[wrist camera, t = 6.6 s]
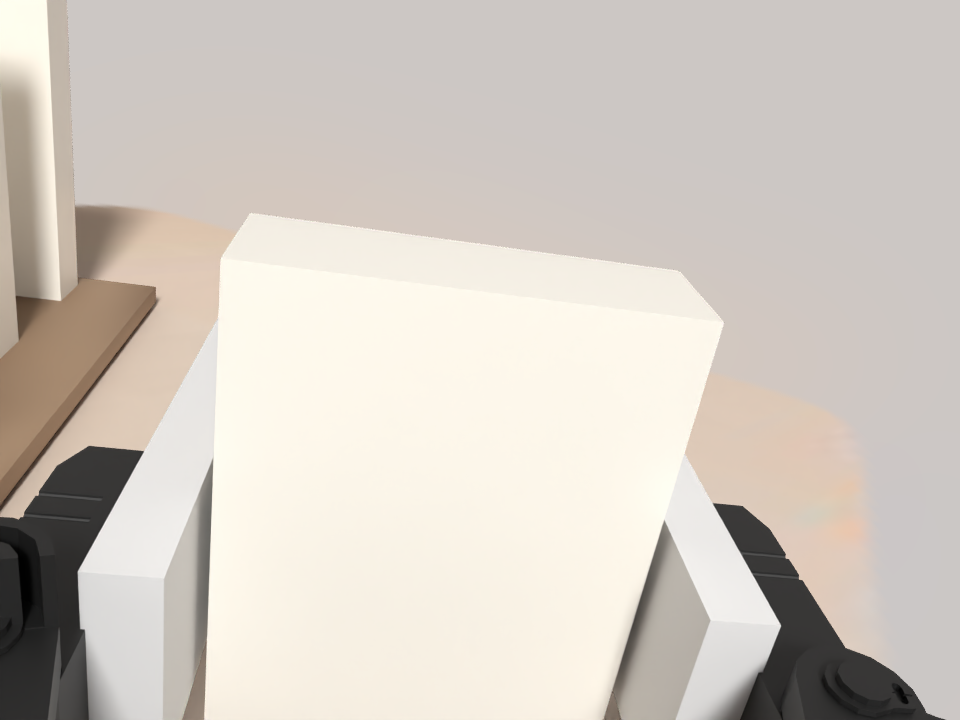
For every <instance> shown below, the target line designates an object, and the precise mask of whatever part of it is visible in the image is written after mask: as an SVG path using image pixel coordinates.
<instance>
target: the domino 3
mask: <svg viewBox="0 0 960 720" xmlns="http://www.w3.org/2000/svg"><path fill="white" fill-rule="evenodd" d="M723 325H724V322H723V321H722V319H721V318H720V317H719V316H718V315H717V314H716V312H715V311H714V310H713V309H712V308H711V307H710V306H709V304H708V303H707V302H706V301H705V300H704V299H703V298H702V297H701V295H700V294H699V293H698V292H697V291H696V290H695V289H694V287H692V285H691V284H690V283H689V282H688V281H687V280H686V278H685V277H684V276H683V275H682V274H681V273H680V271H676V270H669V269H661V268H654V267H647V266H639V265H631V264H624V263H617V262H609V261H602V260H595V259H588V258H580V257H573V256H565V255H558V254H550V253H543V252H536V251H528V250H521V249H514V248H506V247H499V246H491V245H483V244H477V243H468V242H461V241H454V240H446V239H440V238H432V237H424V236H417V235H410V234H402V233H394V232H388V231H380V230H373V229H366V228H358V227H351V226H343V225H335V224H328V223H321V222H313V221H306V220H299V219H291V218H284V217H277V216H269V215H262V214H254V213H250V214H249V216H248V217H247V219H246V220H245V222H244V224H243V225H242V226H241V228H240V229H239V231H238V232H237V234H236V236H235V237H234V239H233V240H232V242H231V243H230V245H229V246H228V248H227V249H226V251H225V252H224V254H223V255H222V257H221V263H220V291H219V320H218V348H217V376H216V404H215V432H214V460H213V488H212V516H211V544H210V572H209V600H208V628H207V657H206V685H205V713H204V720H603V719H604V716H605V712H606V709H607V706H608V702H609V699H610V696H611V693H612V689H613V686H614V683H615V679H616V676H617V673H618V670H619V666H620V663H621V660H622V656H623V653H624V650H625V647H626V643H627V640H628V637H629V633H630V630H631V627H632V624H633V620H634V617H635V614H636V610H637V607H638V604H639V601H640V597H641V594H642V591H643V587H644V584H645V581H646V578H647V574H648V571H649V568H650V564H651V561H652V558H653V555H654V551H655V548H656V545H657V541H658V538H659V535H660V532H661V528H662V525H663V522H664V518H665V515H666V512H667V509H668V505H669V502H670V499H671V495H672V492H673V489H674V486H675V482H676V479H677V476H678V472H679V469H680V466H681V463H682V459H683V456H684V453H685V449H686V446H687V443H688V440H689V436H690V433H691V430H692V426H693V423H694V420H695V417H696V413H697V410H698V407H699V403H700V400H701V397H702V394H703V390H704V387H705V384H706V380H707V377H708V374H709V371H710V367H711V364H712V361H713V357H714V354H715V351H716V347H717V344H718V341H719V337H720V334H721V331H722V328H723Z"/></svg>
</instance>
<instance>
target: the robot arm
mask: <svg viewBox="0 0 960 720" xmlns="http://www.w3.org/2000/svg"><path fill="white" fill-rule="evenodd" d="M218 320H219V317H218V319H217V321H216V322H215V324H214V326H213V328H212V330H211V331H210V333H209V335H208V337H207V339H206V341H205V342H204V344H203V346H202V348H201V350H200V351H199V353H198V355H197V357H196V359H195V360H194V362H193V364H192V366H191V368H190V369H189V371H188V373H187V375H186V377H185V379H184V380H183V382H182V384H181V386H180V388H179V389H178V391H177V393H176V395H175V397H174V398H173V400H172V402H171V404H170V406H169V407H168V409H167V411H166V413H165V415H164V417H163V418H162V420H161V422H160V424H159V426H158V427H157V429H156V431H155V433H154V435H153V436H152V438H151V440H150V442H149V444H148V445H147V447H146V449H145V451H136V450H126V449H116V448H105V447H95V446H88V447H87V448H85V449H84V450H82V451H80V452H79V453H77V454H75V455H74V456H72V457H71V458H69V459H67V460H66V461H64V462H63V463H61V464H59V465H58V466H57V467H56V468H55V470H54V471H53V472H52V474H51V475H50V477H49V478H48V479H47V481H46V482H45V484H44V485H43V486H42V488H41V489H40V491H39V496H35V498H34V499H33V501H32V502H31V503H30V505H29V506H28V508H27V509H26V510H25V512H24V517H20V519H19V520H18V519H15V518H6V517H0V720H182V718H183V715H184V712H185V709H186V705H187V702H188V699H189V696H190V692H191V689H192V686H193V682H194V679H195V676H196V673H197V669H198V666H199V663H200V659H201V656H202V653H203V650H204V646H205V643H206V640H207V628H208V600H209V572H210V544H211V516H212V488H213V460H214V432H215V404H216V376H217V348H218ZM785 555H786V554H785V552H784V551H783V549H782V548H781V546H780V545H779V543H778V541H777V540H776V538H775V537H774V535H773V534H772V532H771V530H770V529H769V528H768V527H767V526H765V525H764V524H763V523H762V522H761V521H759V520H758V519H757V518H756V517H755V516H753V515H752V514H751V513H750V512H749V511H748V510H746V509H745V508H744V507H743V506H736V505H726V504H715V503H712V502H711V500H710V498H709V496H708V495H707V493H706V491H705V489H704V487H703V486H702V484H701V482H700V480H699V479H698V477H697V475H696V473H695V471H694V470H693V468H692V466H691V464H690V462H689V461H688V459H687V457H686V455H685V454H684V456H683V459H682V463H681V466H680V469H679V472H678V476H677V479H676V482H675V486H674V489H673V492H672V495H671V499H670V502H669V505H668V509H667V512H666V515H665V518H664V522H663V525H662V528H661V532H660V535H659V538H658V541H657V545H656V548H655V551H654V555H653V558H652V561H651V564H650V568H649V571H648V574H647V578H646V581H645V584H644V587H643V591H642V594H641V597H640V601H639V604H638V607H637V610H636V614H635V617H634V620H633V624H632V627H631V630H630V633H629V637H628V640H627V643H626V647H625V650H624V653H623V656H622V660H621V663H620V666H619V670H618V673H617V676H616V679H615V683H614V686H613V691H614V695H615V699H616V702H617V706H618V709H619V713H620V717H621V720H945V719H941V718H938V717H935V716H932V715H930V714H927V713H926V711H925V709H924V707H923V705H922V704H921V702H920V701H919V699H918V697H917V696H916V694H915V692H914V691H913V689H912V688H911V687H909V686H908V685H907V684H906V683H905V682H904V681H903V680H902V679H901V678H900V677H899V676H898V675H897V674H896V673H895V672H893V671H892V670H890V669H889V668H887V667H885V666H884V665H882V664H881V663H879V662H877V661H876V660H874V659H872V658H871V657H868V656H865V655H863V654H860V653H857V652H855V651H852V650H850V649H847V648H845V646H844V645H843V643H842V642H841V640H840V639H839V637H838V635H837V634H836V632H835V631H834V629H833V628H832V626H831V624H830V623H829V621H828V620H827V618H826V617H825V615H824V614H823V612H822V610H821V609H820V607H819V606H818V604H817V603H816V601H815V599H814V598H813V596H812V595H811V593H810V592H809V590H808V588H807V587H806V585H805V584H804V582H803V581H802V580H799V574H798V573H797V571H796V570H795V568H794V566H793V565H792V563H791V562H790V560H789V559H786V558H785Z"/></svg>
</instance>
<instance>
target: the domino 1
mask: <svg viewBox="0 0 960 720" xmlns="http://www.w3.org/2000/svg"><path fill="white" fill-rule="evenodd" d="M18 341H19V338H18V324H17V310H16V296H15V282H14V268H13V254H12V240H11V226H10V212H9V197H8V183H7V169H6V155H5V141H4V127H3V113H2V99H1V85H0V358H1V357H3V356H4V355H5V354H6V353H7V352H8V351H9V350H10V349H11V348H12V347H13V346H14V345H15V344H16V343H17V342H18Z"/></svg>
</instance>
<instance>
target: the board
mask: <svg viewBox="0 0 960 720" xmlns="http://www.w3.org/2000/svg"><path fill="white" fill-rule="evenodd" d="M155 302H156V287H152V286H143V285H135V284H127V283H119V282H110V281H102V280H94V279H86V278H78V285H77V286H76V287H75V288H74V289H73V290H72V291H71V292H70V293H69V294H68V295H67V296H66V297H65V298H64V299H62V300H61V301H57V300H48V299H40V298H31V297H23V296H16V310H17V324H18V338H19V341H18V342H17V343H16V344H15V345H14V346H13V347H12V348H11V349H10V350H9V351H8V352H7V353H6V354H5V355H4V356H3V357H1V358H0V505H1V503H2V502H3V501H4V499H5V498H6V497H7V496H8V494H9V493H10V492H11V490H12V489H13V488H14V486H15V485H16V484H17V482H18V481H19V480H20V479H21V477H22V476H23V475H24V473H25V472H26V471H27V469H28V468H29V467H30V465H31V464H32V463H33V462H34V460H35V459H36V458H37V456H38V455H39V454H40V452H41V451H42V450H43V448H44V447H45V446H46V445H47V443H48V442H49V441H50V439H51V438H52V437H53V435H54V434H55V433H56V432H57V430H58V429H59V428H60V426H61V425H62V424H63V422H64V421H65V420H66V418H67V417H68V416H69V415H70V413H71V412H72V411H73V409H74V408H75V407H76V405H77V404H78V403H79V401H80V400H81V399H82V398H83V396H84V395H85V394H86V392H87V391H88V390H89V388H90V387H91V386H92V384H93V383H94V382H95V381H96V379H97V378H98V377H99V375H100V374H101V373H102V371H103V370H104V369H105V367H106V366H107V365H108V364H109V362H110V361H111V360H112V358H113V357H114V356H115V354H116V353H117V352H118V350H119V349H120V348H121V347H122V345H123V344H124V343H125V341H126V340H127V339H128V337H129V336H130V335H131V334H132V332H133V331H134V330H135V328H136V327H137V326H138V324H139V323H140V322H141V320H142V319H143V318H144V317H145V315H146V314H147V313H148V311H149V310H150V309H151V307H152V306H153V305H154V303H155Z"/></svg>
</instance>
